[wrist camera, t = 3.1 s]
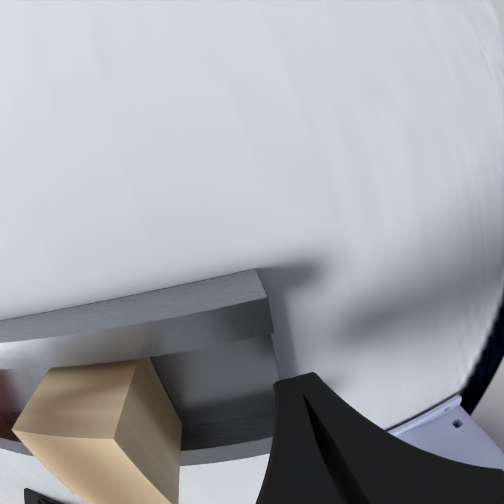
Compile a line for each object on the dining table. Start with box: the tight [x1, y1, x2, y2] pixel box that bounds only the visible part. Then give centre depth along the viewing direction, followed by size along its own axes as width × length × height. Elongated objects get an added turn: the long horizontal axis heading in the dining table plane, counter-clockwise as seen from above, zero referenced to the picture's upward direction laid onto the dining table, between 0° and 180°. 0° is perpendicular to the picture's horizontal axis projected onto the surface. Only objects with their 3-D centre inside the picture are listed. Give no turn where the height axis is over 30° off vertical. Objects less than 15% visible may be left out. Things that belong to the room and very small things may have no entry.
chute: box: [0, 269, 280, 466], centre depth 9 cm, size 18×7×4 cm, turn 101°
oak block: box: [12, 357, 182, 504], centre depth 8 cm, size 4×4×4 cm
